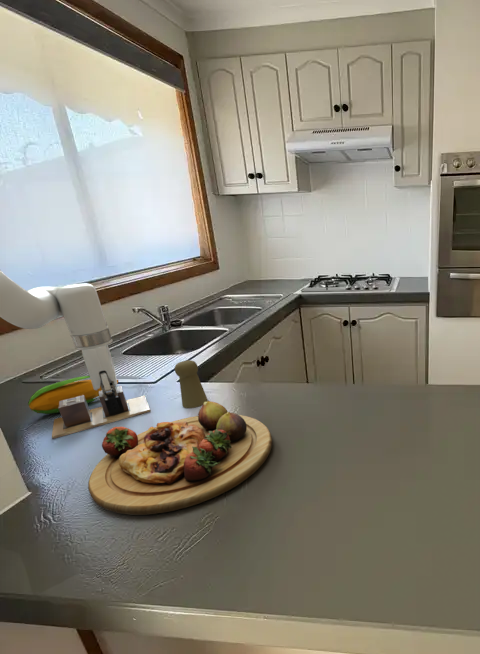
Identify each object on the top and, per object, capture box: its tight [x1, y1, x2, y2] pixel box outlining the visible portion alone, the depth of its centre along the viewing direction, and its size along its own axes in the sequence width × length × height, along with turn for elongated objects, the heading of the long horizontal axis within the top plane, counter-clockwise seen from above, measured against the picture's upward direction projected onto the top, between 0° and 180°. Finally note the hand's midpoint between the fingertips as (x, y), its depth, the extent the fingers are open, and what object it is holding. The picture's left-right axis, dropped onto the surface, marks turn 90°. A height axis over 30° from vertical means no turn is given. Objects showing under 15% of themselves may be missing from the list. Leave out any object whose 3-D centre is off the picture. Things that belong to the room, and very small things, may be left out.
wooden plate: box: [87, 400, 273, 516], centre depth 79 cm, size 32×32×8 cm
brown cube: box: [98, 385, 129, 416], centre depth 103 cm, size 5×5×5 cm
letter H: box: [58, 395, 91, 427], centre depth 99 cm, size 5×5×5 cm
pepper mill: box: [174, 359, 209, 409], centre depth 104 cm, size 6×6×11 cm
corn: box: [27, 375, 119, 415], centre depth 110 cm, size 7×8×20 cm
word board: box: [51, 394, 151, 440], centre depth 103 cm, size 20×11×1 cm, turn 123°
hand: (116, 408), depth 104 cm, fingers closed on brown cube, 5 cm apart
